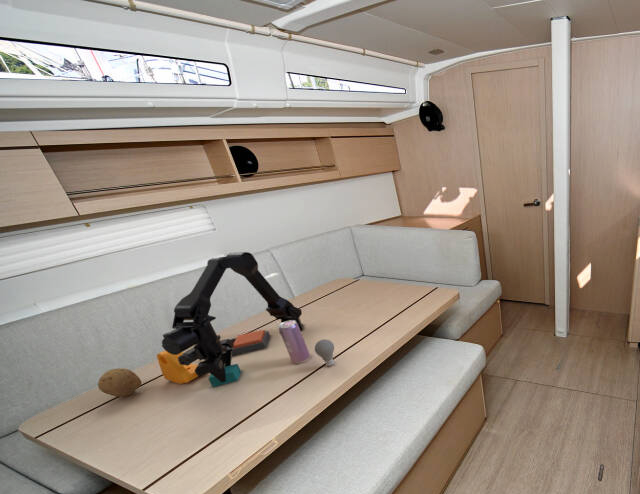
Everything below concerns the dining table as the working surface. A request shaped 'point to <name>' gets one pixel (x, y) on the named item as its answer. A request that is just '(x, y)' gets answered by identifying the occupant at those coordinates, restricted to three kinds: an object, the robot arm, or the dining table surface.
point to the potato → (119, 382)
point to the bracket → (175, 368)
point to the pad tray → (250, 346)
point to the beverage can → (294, 341)
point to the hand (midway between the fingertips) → (226, 376)
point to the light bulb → (325, 351)
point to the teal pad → (227, 375)
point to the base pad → (249, 339)
